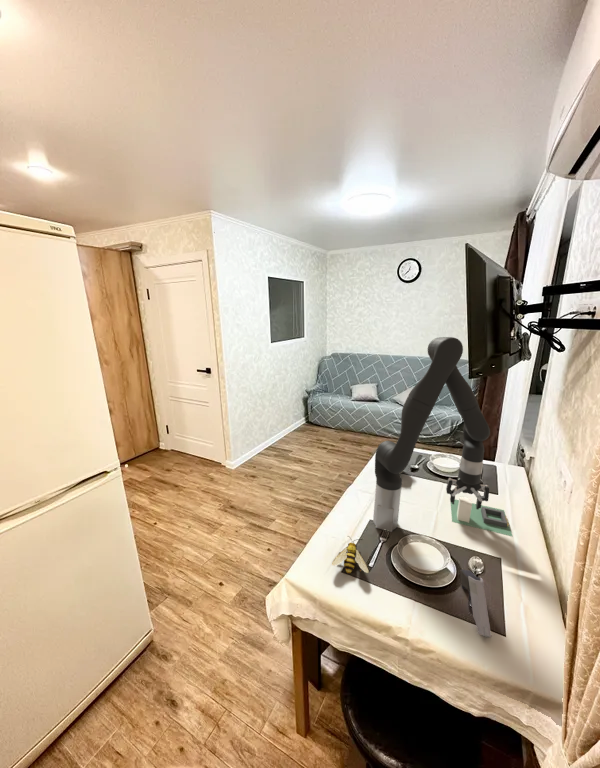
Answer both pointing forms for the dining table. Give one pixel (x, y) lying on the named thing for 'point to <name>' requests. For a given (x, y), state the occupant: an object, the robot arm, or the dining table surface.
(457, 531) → the dining table surface
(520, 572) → the dining table surface
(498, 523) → the board
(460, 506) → the plug
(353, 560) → the insect
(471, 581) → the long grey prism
